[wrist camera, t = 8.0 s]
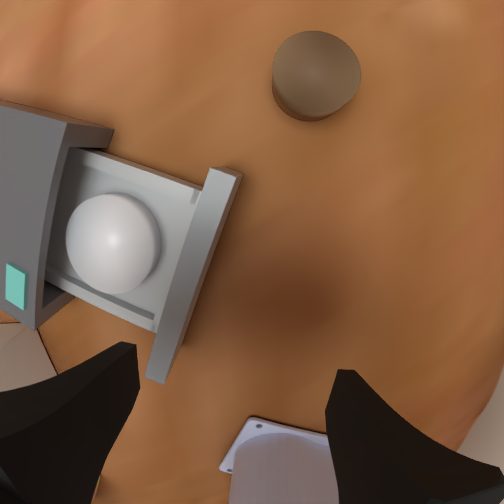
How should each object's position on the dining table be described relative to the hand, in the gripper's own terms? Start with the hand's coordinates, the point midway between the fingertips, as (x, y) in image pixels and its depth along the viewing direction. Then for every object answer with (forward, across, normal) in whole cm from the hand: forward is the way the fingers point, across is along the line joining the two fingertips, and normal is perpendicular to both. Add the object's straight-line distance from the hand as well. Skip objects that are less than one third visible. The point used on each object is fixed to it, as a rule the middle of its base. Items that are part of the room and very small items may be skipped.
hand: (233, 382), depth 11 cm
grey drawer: (+9, +9, -3) cm, 13 cm away
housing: (+9, +18, -5) cm, 20 cm away
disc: (+8, +8, -2) cm, 12 cm away
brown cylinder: (+9, -2, -12) cm, 15 cm away
